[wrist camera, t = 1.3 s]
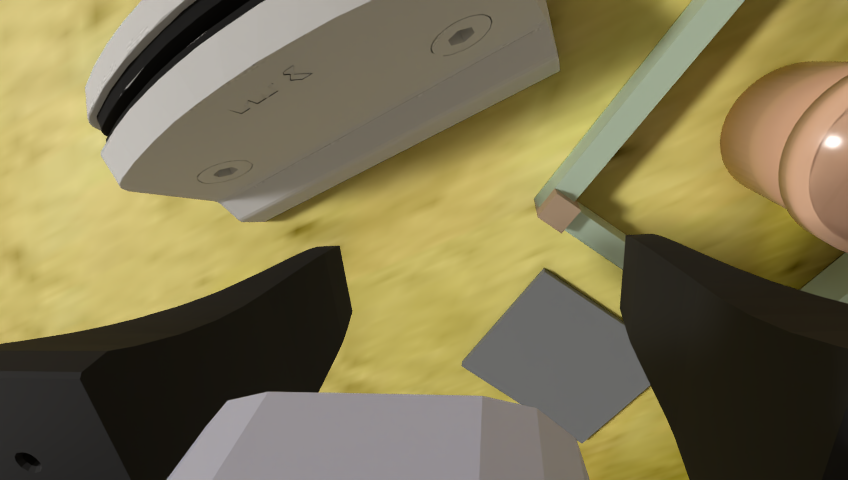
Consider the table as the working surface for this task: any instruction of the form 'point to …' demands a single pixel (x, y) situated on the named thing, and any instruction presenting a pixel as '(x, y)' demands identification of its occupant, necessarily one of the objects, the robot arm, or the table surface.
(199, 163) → the hinge
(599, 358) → the mat
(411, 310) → the table surface
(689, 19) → the grey-green rectangular frame
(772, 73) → the pot
